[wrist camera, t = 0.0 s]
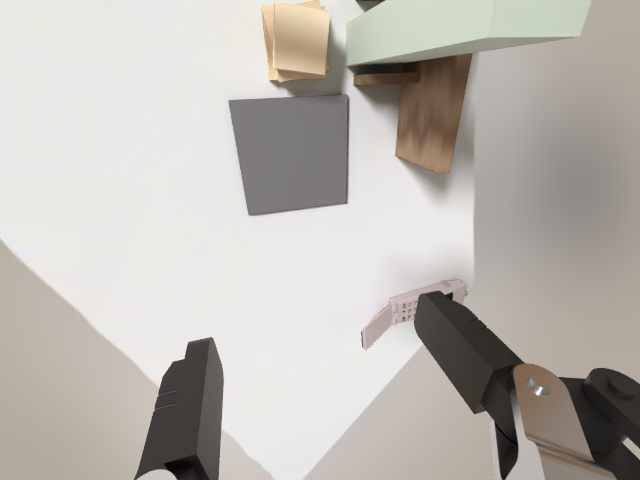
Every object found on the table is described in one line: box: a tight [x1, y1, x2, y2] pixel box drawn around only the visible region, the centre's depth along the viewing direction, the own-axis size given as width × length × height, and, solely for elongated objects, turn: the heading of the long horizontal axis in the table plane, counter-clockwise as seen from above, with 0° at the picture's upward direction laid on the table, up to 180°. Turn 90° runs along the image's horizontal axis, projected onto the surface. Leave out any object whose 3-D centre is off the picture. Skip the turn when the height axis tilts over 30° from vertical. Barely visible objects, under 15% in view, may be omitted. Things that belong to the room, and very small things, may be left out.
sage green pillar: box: [346, 0, 592, 66], centre depth 23 cm, size 4×6×22 cm, turn 92°
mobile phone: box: [361, 280, 468, 350], centre depth 53 cm, size 6×6×25 cm
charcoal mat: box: [228, 95, 347, 215], centre depth 36 cm, size 14×14×1 cm
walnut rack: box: [354, 0, 472, 174], centre depth 30 cm, size 22×8×10 cm, turn 3°
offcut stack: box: [261, 0, 330, 82], centre depth 29 cm, size 7×6×4 cm
